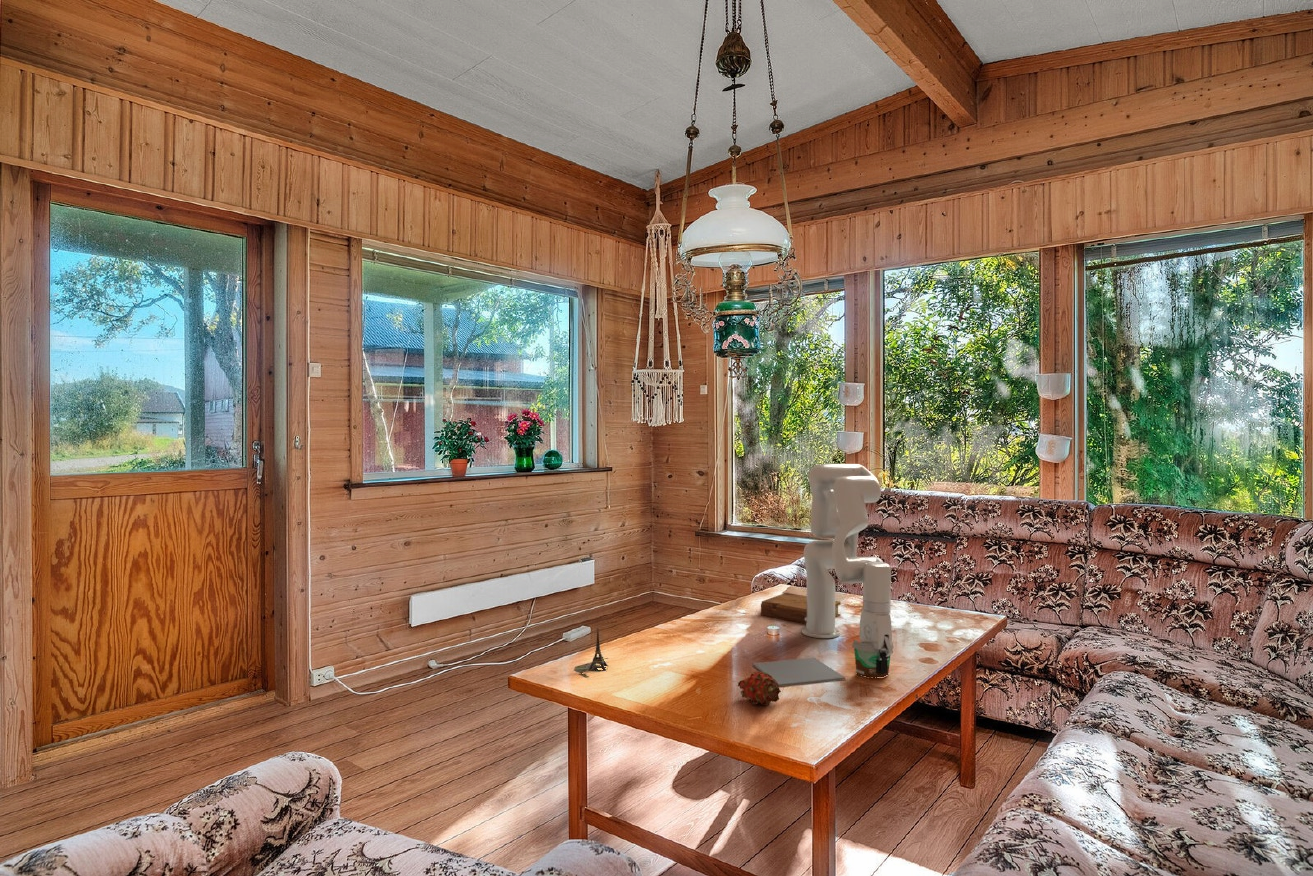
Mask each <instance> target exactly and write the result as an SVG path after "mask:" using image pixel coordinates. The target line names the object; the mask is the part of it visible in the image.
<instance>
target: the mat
mask: <svg viewBox="0 0 1313 876" xmlns="http://www.w3.org/2000/svg"><path fill="white" fill-rule="evenodd" d="M752 666H753V667H754V668H756V669H757V671H758V672H762V673H763V674H764V673H768V674H769V675H771V676H772V677H773V679H775V680H776V681H777V683H778V684H779V688H780V687H788V686H796V685H806V684H807V685H809V684H815V683H814V682H818V683H825V682H826V683H827V682H834V681H833V680H836V681H841V680H840V679H845V680H846V677H845V676H843V675H842V674H841V673H839V672H838V671H836V670H835V669H833V668H832V667H830V666H829V665H827V664H825V663H824V662H822V661H820V660H819V659H818V658H816V657H806V658H805V657H804V658H795V659H784V660H775V661H773V660H771V661H765V662H753V664H752Z"/></svg>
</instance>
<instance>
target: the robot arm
mask: <svg viewBox="0 0 1313 876" xmlns="http://www.w3.org/2000/svg"><path fill="white" fill-rule="evenodd" d="M808 481H809V487H810V492H811V498H812V499H811V510H810V532H811V534H812V535H813V536H814V537H816V538H819V540H812V541H810V542H808V543H806V544H805V546H804V549H803V557H804V558H803V559H804V563H805V565H804V566H805V570H806V571H805V572H806V596H807V617H806V618H805V621H806V624H805V626H803V627H802V628H801V633H802V634H803V635H805V636H807V637H811V638H814V639H815V638H817V639H832V638H833V639H834V638H837V637H839V636H840V635H841V632H840V629H838V628H837V627H836V618H835V601H836V581H835V578H834V577H833V576H832V574H831V573H830V572H829V570H833V569H834V572H835V575H836V577H837V578H838V580H839V581H840V582H841V583H844V584H862V608H861V613H860V618H859V629H858V630H859V631H858V633H859V636H858V638H859V642H864V643H868V644H872V647H873V649H874V650H878V651H879V652H877V656H878V660H876V673H877V674H886V673H887V661H888V659H889V657H890V658H891V655H893V653H894V649H892V647H891V646H892V641H893V630H892V629H893V628H892V618H891V609H892V608H891V605H892V604H891V596H892V594H891V593H892V591H891V590H892V568H891V566H890V564H888V563H886V562H884V561H883V560H882V559H881V558H880V557H878V556H857V555H858V543H859V533H860V532H861V531H863V530H865V529H866V528H868V526H869V525H870V519H869V515H868V511H867V507H866V504H871V503H877V502H878V501H879V500H880V498H881V495H882V490H881V485H880V483H879V480H878V479H877V477H876V476H875V475H874V473H872V472H871V471H869V469H867V468H866V466H863V464H859V463H823V464H817V465H814V466H813V467H811V469H810V471H809V475H808ZM820 538H821V539H820ZM828 538H829V539H828ZM831 538H832V539H831ZM830 539H831V540H830ZM882 646H885V648H882ZM881 648H882V649H881ZM884 650H886V651H885V652H883V653H882V654H881V651H884Z"/></svg>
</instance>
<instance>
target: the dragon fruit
mask: <svg viewBox="0 0 1313 876" xmlns="http://www.w3.org/2000/svg"><path fill="white" fill-rule="evenodd" d="M737 687H739V689H741V691H740V695H741V697H742V698H745V699H746V698H748V699H750V700H751V701H750V702H751V704H752V705H758V704H759V703H760V704H761V705H762V706H768V705H770V702H772V703H775V702H778V701H779V700H780V697H779V695H780V693H781V692H782V690H780V687H779V684H778V683H777V681H776V680H775V679H773V677H772V676H771V675H769V674H768V673H764V674H763V673H762V672H761V671H754V672H753V673H750V676H749V677H745V678H744V679H741V680H739V682H738V683H737Z"/></svg>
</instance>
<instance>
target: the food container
mask: <svg viewBox="0 0 1313 876" xmlns="http://www.w3.org/2000/svg"><path fill="white" fill-rule="evenodd" d="M851 647H852V648H853V651H854V660H855V661H854V662H855V672H856V673H857V674H859V675H862V676H866V677H873V678H875V677H876V678H877V677H884V676H886V675H888V676H889V674H888V673H890V665H891V664H890V662H891V656H890V657H889V659H888V661H887V673H886V674H877V673H876V660H878V656H877V652H879V651H878V650H874V649H873V647H872V644H868V643H864V642H861V641H858V640H855V639H853V642H852V645H851ZM891 647H892V650H894V648H895V647H894V642H893V640H892V646H891ZM882 648H885V646H882ZM882 648H881V649H882ZM885 651H886V650H884V651H881V654H882V653H883V652H885ZM857 674H856V675H857ZM859 675H858V676H859Z"/></svg>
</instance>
